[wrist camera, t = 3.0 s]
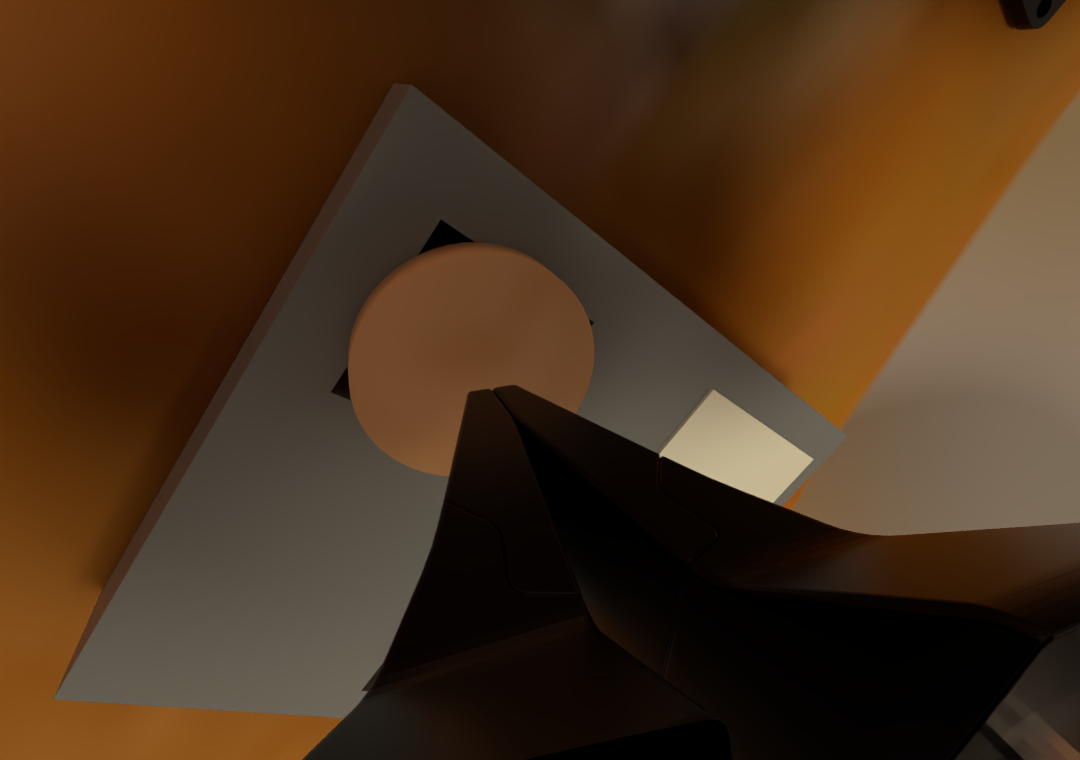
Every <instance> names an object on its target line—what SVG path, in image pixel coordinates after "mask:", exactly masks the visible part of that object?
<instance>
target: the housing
mask: <svg viewBox="0 0 1080 760" xmlns="http://www.w3.org/2000/svg"><path fill="white" fill-rule="evenodd" d="M440 220H443V221H444V222H446V223H447V224H449V225H450V226H452V227H453V228H455V229H456V230H458V231H459V232H460V233H462V234H463V235H465V236H466V237H468V238H469V239H471V240H472V241H474V242H483V243H492V244H499V245H502V246H506V247H510V248H513V249H516V250H518V251H520V252H523V253H525V254H527V255H529V256H531V257H532V258H534V259H536V260H537V261H539V262H540V263H542V264H543V265H544V266H545V267H547V268H548V269H549V270H550V271H551V272H552V273H554V274H555V275H556V276H557V277H558V278H559V279H560V280H562V281H563V282H564V283H565V284H566V285H567V286H568V287H569V288H570V290H571V291H572V292H573V293H574V294H575V295H576V297H577V298H578V300H579V301H580V303H581V304H582V306H583V308H584V310H585V312H586V314H587V316H588V319H589V322H590V325H591V329H592V332H593V339H594V366H593V373H592V377H591V380H590V384H589V387H588V390H587V392H586V395H585V397H584V399H583V401H582V403H581V405H580V407H579V408H578V410H577V412H576V413H575V414H577V415H579V416H581V417H583V418H585V419H587V420H590V421H592V422H594V423H596V424H598V425H600V426H602V427H604V428H606V429H608V430H610V431H612V432H614V433H616V434H619V435H621V436H623V437H625V438H627V439H629V440H631V441H633V442H635V443H637V444H639V445H641V446H643V447H646V448H648V449H650V450H652V451H654V452H656V453H658V454H659V455H660V457H661V456H665V457H667V458H669V459H671V460H673V461H675V462H677V463H679V464H681V465H683V466H685V467H688V468H690V469H692V470H694V471H696V472H699V473H701V474H703V475H705V476H707V477H710V478H712V479H714V480H717V481H719V482H722V483H724V484H726V485H729V486H731V487H734V488H736V489H739V490H741V491H744V492H746V493H749V494H751V495H754V496H756V497H759V498H761V499H764V500H767V501H769V502H772V503H774V504H777V505H779V506H783V505H784V504H785V503H786V501H787V500H788V499H789V498H790V497H791V496H792V495H793V494H794V493H795V492H796V491H797V490H798V489H799V488H800V487H801V486H802V484H803V483H804V482H805V481H806V480H807V479H808V478H809V477H810V476H811V475H812V474H813V473H814V472H815V471H816V470H817V468H818V467H819V466H820V465H821V464H822V463H823V462H824V461H825V460H826V459H827V458H828V457H829V456H830V455H831V454H832V453H833V451H834V450H835V449H836V448H837V447H838V446H839V445H840V444H841V443H842V442H843V441H844V440H845V439H846V438H847V436H846V435H845V434H844V433H842V432H841V431H840V430H839V429H838V428H837V427H835V426H834V425H833V424H832V423H830V422H829V421H828V420H827V419H825V418H824V417H823V416H822V415H820V414H819V413H818V412H817V411H815V410H814V409H813V408H812V407H811V406H809V405H808V404H807V403H806V402H804V401H803V400H802V399H801V398H799V397H798V396H797V395H796V394H794V393H793V392H792V391H791V390H789V389H788V388H787V387H786V386H785V385H783V384H782V383H781V382H780V381H778V380H777V379H776V378H775V377H773V376H772V375H771V374H770V373H768V372H767V371H766V370H765V369H763V368H762V367H761V366H760V365H759V364H757V363H756V362H755V361H754V360H752V359H751V358H750V357H749V356H747V355H746V354H745V353H744V352H742V351H741V350H740V349H739V348H737V347H736V346H735V345H734V344H733V343H731V342H730V341H729V340H728V339H726V338H725V337H724V336H723V335H721V334H720V333H719V332H718V331H716V330H715V329H714V328H713V327H711V326H710V325H709V324H708V323H707V322H705V321H704V320H703V319H702V318H700V317H699V316H698V315H697V314H695V313H694V312H693V311H692V310H690V309H689V308H688V307H687V306H685V305H684V304H683V303H682V302H681V301H679V300H678V299H677V298H676V297H674V296H673V295H672V294H671V293H669V292H668V291H667V290H666V289H664V288H663V287H662V286H661V285H659V284H658V283H657V282H656V281H655V280H653V279H652V278H651V277H650V276H648V275H647V274H646V273H645V272H643V271H642V270H641V269H640V268H638V267H637V266H636V265H635V264H633V263H632V262H631V261H630V260H629V259H627V258H626V257H625V256H624V255H622V254H621V253H620V252H619V251H617V250H616V249H615V248H614V247H612V246H611V245H610V244H609V243H608V242H606V241H605V240H604V239H603V238H601V237H600V236H599V235H598V234H596V233H595V232H594V231H593V230H591V229H590V228H589V227H588V226H586V225H585V224H584V223H583V222H582V221H580V220H579V219H578V218H577V217H575V216H574V215H573V214H572V213H570V212H569V211H568V210H567V209H565V208H564V207H563V206H562V205H560V204H559V203H558V202H557V201H556V200H554V199H553V198H552V197H551V196H549V195H548V194H547V193H546V192H544V191H543V190H542V189H541V188H539V187H538V186H537V185H536V184H534V183H533V182H532V181H531V180H530V179H528V178H527V177H526V176H525V175H523V174H522V173H521V172H520V171H518V170H517V169H516V168H515V167H513V166H512V165H511V164H510V163H508V162H507V161H506V160H505V159H504V158H502V157H501V156H500V155H499V154H497V153H496V152H495V151H494V150H492V149H491V148H490V147H489V146H487V145H486V144H485V143H484V142H482V141H481V140H480V139H479V138H478V137H476V136H475V135H474V134H473V133H471V132H470V131H469V130H468V129H466V128H465V127H464V126H463V125H461V124H460V123H459V122H458V121H456V120H455V119H454V118H453V117H452V116H450V115H449V114H448V113H447V112H445V111H444V110H443V109H442V108H440V107H439V106H438V105H437V104H435V103H434V102H433V101H432V100H430V99H429V98H428V97H427V96H426V95H424V94H423V93H422V92H421V91H419V90H418V89H417V88H416V87H414V86H413V85H410V84H398V83H393V85H392V87H391V89H390V90H389V92H388V94H387V95H386V97H385V99H384V101H383V102H382V104H381V106H380V108H379V109H378V111H377V113H376V115H375V116H374V118H373V120H372V122H371V123H370V125H369V127H368V129H367V130H366V132H365V134H364V135H363V137H362V139H361V141H360V142H359V144H358V146H357V148H356V149H355V151H354V153H353V155H352V156H351V158H350V160H349V162H348V163H347V165H346V167H345V169H344V170H343V172H342V174H341V176H340V177H339V179H338V181H337V182H336V184H335V186H334V188H333V189H332V191H331V193H330V195H329V196H328V198H327V200H326V202H325V203H324V205H323V207H322V209H321V210H320V212H319V214H318V216H317V217H316V219H315V221H314V222H313V224H312V226H311V228H310V229H309V231H308V233H307V235H306V236H305V238H304V240H303V242H302V243H301V245H300V247H299V249H298V250H297V252H296V254H295V256H294V257H293V259H292V261H291V263H290V264H289V266H288V268H287V269H286V271H285V273H284V275H283V276H282V278H281V280H280V282H279V283H278V285H277V287H276V289H275V290H274V292H273V294H272V296H271V297H270V299H269V301H268V303H267V304H266V306H265V308H264V309H263V311H262V313H261V315H260V316H259V318H258V320H257V322H256V323H255V325H254V327H253V329H252V330H251V332H250V334H249V336H248V337H247V339H246V341H245V343H244V344H243V346H242V348H241V350H240V351H239V353H238V355H237V356H236V358H235V360H234V362H233V363H232V365H231V367H230V369H229V370H228V372H227V374H226V376H225V377H224V379H223V381H222V383H221V384H220V386H219V388H218V390H217V391H216V393H215V395H214V396H213V398H212V400H211V402H210V403H209V405H208V407H207V409H206V410H205V412H204V414H203V416H202V417H201V419H200V421H199V423H198V424H197V426H196V428H195V430H194V431H193V433H192V435H191V437H190V438H189V440H188V442H187V443H186V445H185V447H184V449H183V450H182V452H181V454H180V456H179V457H178V459H177V461H176V463H175V464H174V466H173V468H172V470H171V471H170V473H169V475H168V477H167V478H166V480H165V482H164V483H163V485H162V487H161V489H160V490H159V492H158V494H157V496H156V497H155V499H154V501H153V503H152V504H151V506H150V508H149V510H148V511H147V513H146V515H145V517H144V518H143V520H142V522H141V524H140V525H139V527H138V529H137V530H136V532H135V534H134V536H133V537H132V539H131V541H130V543H129V544H128V546H127V548H126V550H125V551H124V553H123V555H122V557H121V558H120V560H119V562H118V564H117V565H116V567H115V569H114V570H113V572H112V574H111V576H110V577H109V579H108V581H107V583H106V584H105V586H104V588H103V590H102V592H101V594H100V596H99V598H98V601H97V603H96V605H95V607H94V610H93V612H92V614H91V616H90V618H89V621H88V623H87V625H86V627H85V630H84V632H83V634H82V636H81V639H80V641H79V643H78V645H77V647H76V650H75V652H74V654H73V656H72V659H71V661H70V663H69V665H68V668H67V670H66V672H65V674H64V677H63V679H62V681H61V683H60V685H59V688H58V690H57V692H56V694H55V697H54V699H55V700H71V701H86V702H102V703H117V704H133V705H149V706H164V707H180V708H195V709H211V710H227V711H242V712H258V713H274V714H289V715H305V716H320V717H336V718H345V717H346V716H347V715H348V714H349V713H350V712H351V711H352V710H353V709H354V708H355V707H356V706H357V705H358V704H359V702H360V701H361V700H362V698H363V697H364V696H365V694H366V693H367V692H368V690H369V688H370V687H371V685H372V684H373V682H374V680H375V678H376V676H377V674H378V672H379V670H380V668H381V666H382V664H383V662H384V660H385V657H386V655H387V653H388V651H389V648H390V646H391V644H392V641H393V639H394V637H395V634H396V632H397V630H398V627H399V625H400V623H401V620H402V618H403V616H404V613H405V611H406V609H407V606H408V604H409V601H410V599H411V597H412V594H413V592H414V590H415V587H416V585H417V583H418V580H419V578H420V576H421V573H422V570H423V568H424V565H425V562H426V560H427V557H428V554H429V552H430V549H431V546H432V543H433V539H434V536H435V532H436V528H437V525H438V521H439V517H440V512H441V508H442V505H443V501H444V496H445V492H446V487H447V483H448V478H449V476H441V475H435V474H429V473H425V472H422V471H419V470H415V469H413V468H411V467H408V466H406V465H404V464H401V463H400V462H398V461H396V460H395V459H393V458H391V457H390V456H389V455H387V454H386V453H385V452H384V451H382V450H381V449H380V448H379V447H378V446H377V445H376V444H375V443H374V442H373V441H372V440H371V439H370V438H369V436H368V435H367V433H366V432H365V430H364V429H363V428H362V426H361V424H360V422H359V420H358V418H357V416H356V414H355V411H354V408H353V404H352V401H351V397H350V389H349V378H348V345H349V340H350V335H351V331H352V328H353V325H354V322H355V320H356V317H357V315H358V313H359V311H360V309H361V307H362V305H363V304H364V302H365V301H366V299H367V298H368V296H369V295H370V294H371V292H372V291H373V290H374V288H375V287H376V286H377V285H378V284H379V283H380V282H381V281H382V280H383V279H384V278H385V277H386V276H387V275H388V274H390V273H391V272H392V271H393V270H395V269H396V268H397V267H398V266H400V265H401V264H403V263H405V262H407V261H408V260H410V259H412V258H413V257H415V256H417V255H418V254H419V253H420V251H421V250H422V248H423V247H424V245H425V243H426V242H427V240H428V239H429V237H430V236H431V234H432V232H433V231H434V229H435V228H436V226H437V225H438V223H439V222H440Z"/></svg>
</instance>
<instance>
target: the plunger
mask: <svg viewBox="0 0 1080 760" xmlns="http://www.w3.org/2000/svg"><path fill="white" fill-rule="evenodd" d="M593 366H594V339H593V332H592V329H591V325H590V322H589V319H588V316H587V314H586V312H585V310H584V308H583V306H582V304H581V303H580V301H579V300H578V298H577V297H576V295H575V294H574V293H573V292H572V291H571V290H570V288H569V287H568V286H567V285H566V284H565V283H564V282H563V281H562V280H560V279H559V278H558V277H557V276H556V275H555V274H554V273H552V272H551V271H550V270H549V269H548V268H547V267H545V266H544V265H543V264H542V263H540V262H539V261H537V260H536V259H534V258H532V257H531V256H529V255H527V254H525V253H523V252H520V251H518V250H516V249H513V248H510V247H506V246H502V245H499V244H492V243H483V242H464V243H457V244H451V245H435V246H430V247H427V248H423V249H422V250H421V251H420V253H419V254H418V255H417V256H415V257H413V258H412V259H410V260H408V261H407V262H405V263H403V264H401V265H400V266H398V267H397V268H396V269H395V270H393V271H392V272H391V273H390V274H388V275H387V276H386V277H385V278H384V279H383V280H382V281H381V282H380V283H379V284H378V285H377V286H376V287H375V288H374V290H373V291H372V292H371V294H370V295H369V296H368V298H367V299H366V301H365V302H364V304H363V305H362V307H361V309H360V311H359V313H358V315H357V317H356V320H355V322H354V325H353V328H352V331H351V335H350V340H349V345H348V378H349V389H350V397H351V401H352V404H353V408H354V411H355V414H356V416H357V418H358V420H359V422H360V424H361V426H362V428H363V429H364V430H365V432H366V433H367V435H368V436H369V438H370V439H371V440H372V441H373V442H374V443H375V444H376V445H377V446H378V447H379V448H380V449H381V450H382V451H384V452H385V453H386V454H387V455H389V456H390V457H391V458H393V459H395V460H396V461H398V462H400V463H401V464H404V465H406V466H408V467H411V468H413V469H415V470H419V471H422V472H425V473H429V474H435V475H441V476H449V474H450V470H451V465H452V461H453V456H454V452H455V447H456V443H457V439H458V434H459V430H460V425H461V421H462V416H463V412H464V407H465V403H466V399H467V394H468V393H469V392H470V391H476V390H482V389H491V390H492V391H493V389H494V388H496V387H501V386H508V385H517V386H519V387H521V388H523V389H525V390H527V391H529V392H531V393H533V394H536V395H538V396H540V397H542V398H544V399H546V400H548V401H550V402H552V403H554V404H556V405H558V406H560V407H563V408H565V409H567V410H569V411H571V412H573V413H576V412H577V410H578V408H579V407H580V405H581V403H582V401H583V399H584V397H585V395H586V392H587V390H588V387H589V384H590V380H591V377H592V373H593Z"/></svg>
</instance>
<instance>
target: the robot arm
mask: <svg viewBox="0 0 1080 760" xmlns="http://www.w3.org/2000/svg"><path fill="white" fill-rule="evenodd" d="M1065 1H1066V0H1006V2H1007V5H1008V8H1009V11H1010V14H1011V17H1012V20H1013V23H1014V25H1015V27H1016V28H1017V29H1019V30H1028V29H1038V28H1040V27H1042V26H1044V25H1045V24H1046V23H1047V22H1048V21H1049V20H1050V19H1051V17H1052V16H1053V15H1054V14H1055V13H1056V12H1057V10H1058V9H1059V8H1060V7H1061V6H1062V5H1063V3H1064V2H1065ZM302 760H1080V523H1071V524H1059V525H1044V526H1030V527H1015V528H1000V529H985V530H971V531H956V532H942V533H927V534H912V535H897V536H881V535H869V534H862V533H856V532H852V531H848V530H844V529H839V528H837V527H834V526H831V525H828V524H825V523H823V522H820V521H818V520H815V519H813V518H810V517H807V516H805V515H802V514H800V513H797V512H795V511H792V510H790V509H787V508H784V507H782V506H779V505H777V504H774V503H772V502H769V501H767V500H764V499H761V498H759V497H756V496H754V495H751V494H749V493H746V492H744V491H741V490H739V489H736V488H734V487H731V486H729V485H726V484H724V483H722V482H719V481H717V480H714V479H712V478H710V477H707V476H705V475H703V474H701V473H699V472H696V471H694V470H692V469H690V468H688V467H685V466H683V465H681V464H679V463H677V462H675V461H673V460H671V459H669V458H667V457H665V456H661V457H660V455H659V454H658V453H656V452H654V451H652V450H650V449H648V448H646V447H643V446H641V445H639V444H637V443H635V442H633V441H631V440H629V439H627V438H625V437H623V436H621V435H619V434H616V433H614V432H612V431H610V430H608V429H606V428H604V427H602V426H600V425H598V424H596V423H594V422H592V421H590V420H587V419H585V418H583V417H581V416H579V415H577V414H575V413H573V412H571V411H569V410H567V409H565V408H563V407H560V406H558V405H556V404H554V403H552V402H550V401H548V400H546V399H544V398H542V397H540V396H538V395H536V394H533V393H531V392H529V391H527V390H525V389H523V388H521V387H519V386H517V385H508V386H501V387H496V388H494V389H493V391H492V390H491V389H482V390H476V391H470V392H469V393H468V394H467V399H466V403H465V407H464V412H463V416H462V421H461V425H460V430H459V434H458V439H457V443H456V447H455V452H454V456H453V461H452V465H451V470H450V474H449V478H448V483H447V487H446V492H445V496H444V501H443V505H442V508H441V512H440V517H439V521H438V525H437V528H436V532H435V536H434V539H433V543H432V546H431V549H430V552H429V554H428V557H427V560H426V562H425V565H424V568H423V570H422V573H421V576H420V578H419V580H418V583H417V585H416V587H415V590H414V592H413V594H412V597H411V599H410V601H409V604H408V606H407V609H406V611H405V613H404V616H403V618H402V620H401V623H400V625H399V627H398V630H397V632H396V634H395V637H394V639H393V641H392V644H391V646H390V648H389V651H388V653H387V655H386V657H385V660H384V662H383V664H382V666H381V668H380V670H379V672H378V674H377V676H376V678H375V680H374V682H373V684H372V685H371V687H370V688H369V690H368V692H367V693H366V694H365V696H364V697H363V698H362V700H361V701H360V702H359V704H358V705H357V706H356V707H355V708H354V709H353V710H352V711H351V712H350V713H349V714H348V715H347V716H346V717H345V718H344V719H343V720H342V721H341V722H340V723H339V724H338V725H337V726H336V727H335V728H334V729H333V730H332V731H331V732H330V733H329V734H328V735H327V736H326V737H325V738H324V739H323V740H322V741H321V742H320V743H319V744H318V745H317V746H316V747H315V748H314V749H313V750H311V751H310V752H309V753H308V754H307V755H306V756H305V757H304V758H303V759H302Z"/></svg>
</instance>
